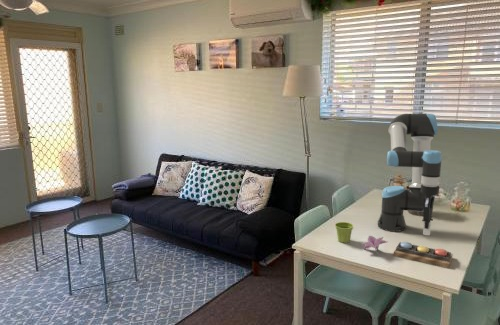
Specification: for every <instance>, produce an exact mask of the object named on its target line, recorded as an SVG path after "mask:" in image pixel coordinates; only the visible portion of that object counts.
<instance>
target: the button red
mask: <svg viewBox="0 0 500 325" xmlns="http://www.w3.org/2000/svg"><path fill="white" fill-rule="evenodd" d="M434 249H435V254H436V255H438V256H443V257H445V256H447V252H448V251H447V250H446V249H443V248H434Z"/></svg>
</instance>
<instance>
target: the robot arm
mask: <svg viewBox="0 0 500 325" xmlns="http://www.w3.org/2000/svg"><path fill="white" fill-rule="evenodd" d="M387 129H388V130H387V131H388V134H389V136H390V150H389V151H387V152H386V153H387V156H386V164H387V165H388V167H398V168H399V167H401V168H403V167H404V168H405V167H407V168H412V171H411V172H412V174H411V176H412V177H411V178H412V179H411V184H410V186H409V185H408V186H409V190H406V188H405V186H403V185H389V186H386V187H384V188H383V189H382V194H381V212H380V215H379V217H378V220H377V227H378V228H379V229H381V230H383V231H388V232H389V231H390V232H402V231H403V232H404V230H406V229H407V228H406V227H407V223H406V220H405V216H404V211H407V212H408V211H420V212H423V215H422V217H423V218H422V220H421V221H422V222H423V230H422V231H423V232H422V235H425V236H430V235H431V226H432V221H434V219H433V211H434V204H435V198H436V196H437V195H439V194H440V183H441V181H442V179H441V172H442V169H441V168H442V161H443V156H442V154H443V153H442V152H441V151H440V150H435V149H431V143H432V142H431V141H432V140H433V139H434V138H435V136H436V135H437V134H438V121H437V117H436V115H435V114H433V113H402V114H398V115H397V116H396V117H394V118H393V119H392V120H391V121H390V122H389V124H388V128H387ZM407 135H410V139H411V140H412V141H413V145H412V146H413V149H412V150H409V151H408V144H407V143H408V142H407Z"/></svg>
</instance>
